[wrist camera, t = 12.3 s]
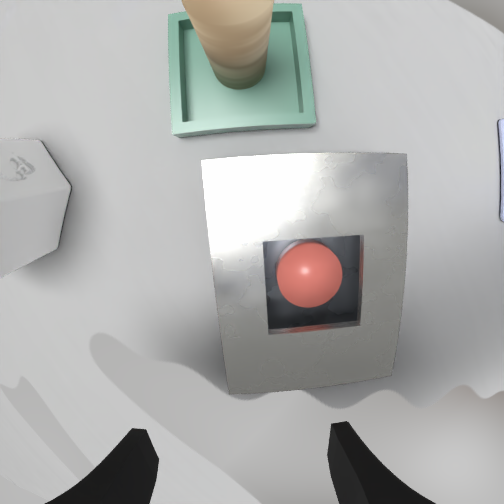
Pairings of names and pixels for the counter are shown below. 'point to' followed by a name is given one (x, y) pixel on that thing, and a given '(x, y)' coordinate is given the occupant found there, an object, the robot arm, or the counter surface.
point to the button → (308, 273)
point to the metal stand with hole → (316, 228)
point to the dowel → (233, 37)
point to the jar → (29, 203)
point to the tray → (246, 100)
